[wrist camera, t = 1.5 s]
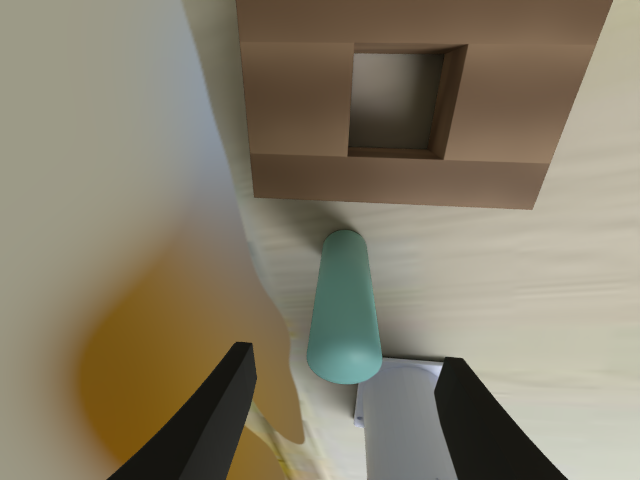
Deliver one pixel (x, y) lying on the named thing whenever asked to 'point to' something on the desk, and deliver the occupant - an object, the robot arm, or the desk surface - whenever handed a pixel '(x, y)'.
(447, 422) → the robot arm
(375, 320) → the peg
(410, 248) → the desk surface
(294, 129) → the hole block
